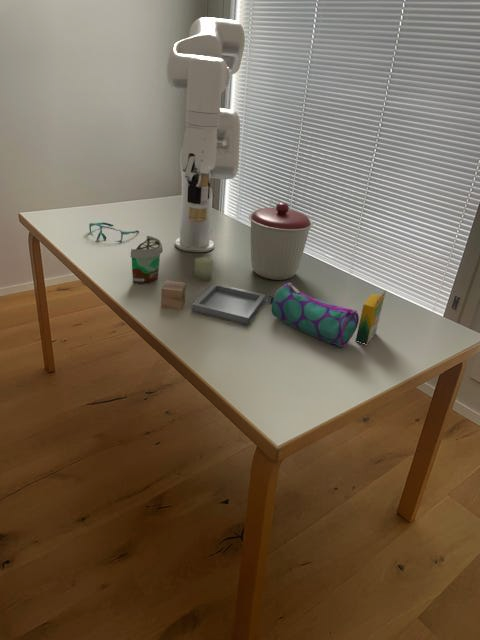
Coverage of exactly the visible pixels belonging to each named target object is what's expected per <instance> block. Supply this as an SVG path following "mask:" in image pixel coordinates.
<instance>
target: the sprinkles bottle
mask: <svg viewBox="0 0 480 640" xmlns="http://www.w3.org/2000/svg"><path fill="white" fill-rule="evenodd" d="M196 171H197V170H193V172H195V173H197V172H196ZM209 172H210V166H208V168H207V171H206V172H205V173H202V175H201V182H200V187H201V203H200V204H194V203H189V217H188V218H189V219H190V220H191V221H195V222H203V221H205V220H206V219H207V218H206V212H207V201H208V183H209V182H208V178H209ZM193 176H194V177H196V180H197V176H196V175H193Z"/></svg>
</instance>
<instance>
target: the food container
mask: <svg viewBox="0 0 480 640" xmlns="http://www.w3.org/2000/svg"><path fill="white" fill-rule="evenodd" d="M163 250H164V249H163V244H162V242H161V240H160V239H159V238H157V237H154V236H150V235H146V239H145V240H144V241H143V242H141V243H139V244H138V246H136V248H134V249H133V248H131V249H130V258H131V271H132V284H135V285H145V284H147V285H148V284H151V283H155V282H156V281H157V280H158V278H159V270H160V269H159V268H160V258H161V254H162V253H163V252H164V251H163Z"/></svg>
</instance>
